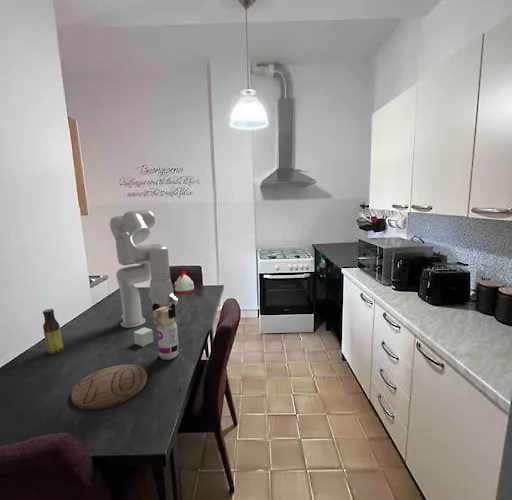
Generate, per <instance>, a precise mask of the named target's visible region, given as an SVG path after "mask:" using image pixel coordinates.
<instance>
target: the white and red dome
mask: <svg viewBox="0 0 512 500" xmlns="http://www.w3.org/2000/svg"><path fill="white" fill-rule="evenodd" d="M194 291H195V285H194V281H193V280H192V279H191V278H190V276H188V275H187V272H186V271H185V270H181V272H180V276H179V277H178V278H177V280H176V281H175V282H174V292H175V294H188V293H192V292H194Z"/></svg>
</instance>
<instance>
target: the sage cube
mask: <svg viewBox="0 0 512 500" xmlns="http://www.w3.org/2000/svg"><path fill="white" fill-rule="evenodd" d="M153 333H154V332H153V329H151V328H147V327H141V328H139V329H137V330H134V331H133V339H134V344H135V345H137V346H140V347H146V346H147V345H149V344H151V343H153V342H154V334H153Z"/></svg>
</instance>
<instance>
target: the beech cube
mask: <svg viewBox="0 0 512 500" xmlns="http://www.w3.org/2000/svg"><path fill="white" fill-rule="evenodd" d="M168 310H169V308H168V306H166V305H163V306H162V307H160V308H159V309H156V310H154V311H153V310H152V314H153V323H154V325H156V326H162V327H166V326H168V325H170V324H172V323H174V322H175V323H176V318H175V317H176V316H175V317H174V318H172V319H169V315H168Z"/></svg>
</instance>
